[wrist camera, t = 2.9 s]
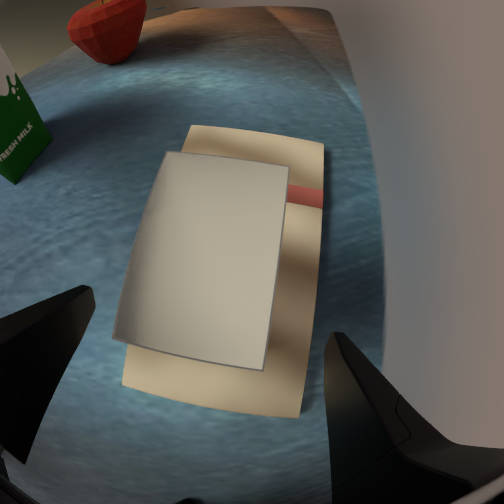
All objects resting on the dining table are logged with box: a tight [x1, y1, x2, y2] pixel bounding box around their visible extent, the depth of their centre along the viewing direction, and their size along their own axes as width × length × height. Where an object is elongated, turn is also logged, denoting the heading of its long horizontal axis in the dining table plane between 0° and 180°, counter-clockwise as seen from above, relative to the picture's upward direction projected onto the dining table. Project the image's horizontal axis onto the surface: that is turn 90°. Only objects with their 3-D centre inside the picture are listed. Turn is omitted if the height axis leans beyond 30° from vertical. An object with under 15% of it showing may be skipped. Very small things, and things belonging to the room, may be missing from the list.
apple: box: [67, 0, 147, 65], centre depth 23 cm, size 11×11×12 cm
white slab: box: [112, 151, 290, 372], centre depth 13 cm, size 6×4×11 cm
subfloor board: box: [122, 125, 324, 418], centre depth 20 cm, size 22×12×1 cm, turn 171°
